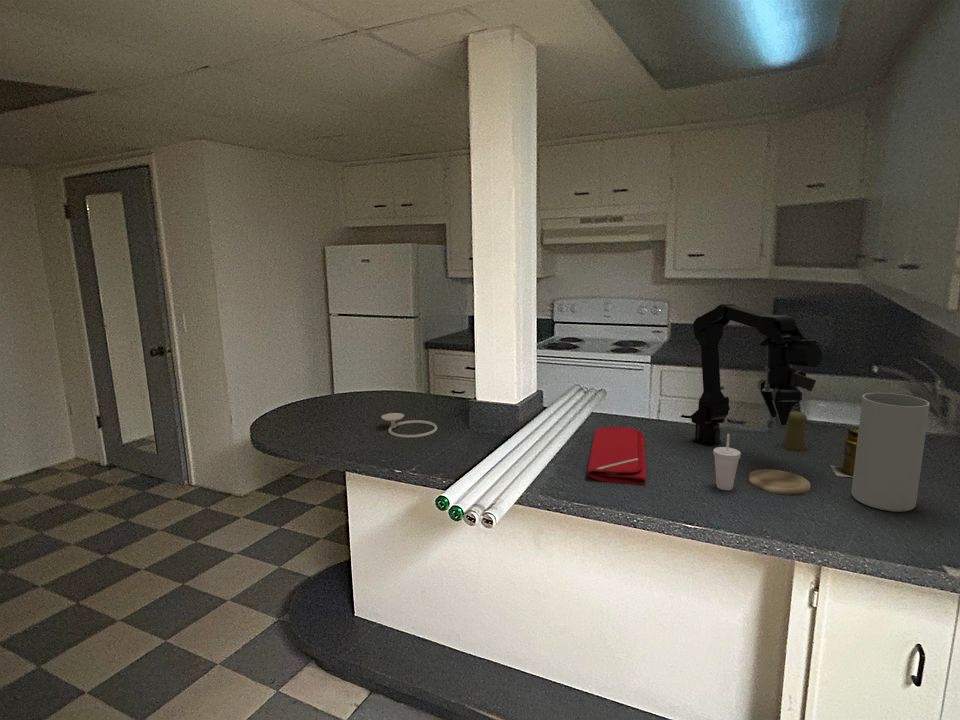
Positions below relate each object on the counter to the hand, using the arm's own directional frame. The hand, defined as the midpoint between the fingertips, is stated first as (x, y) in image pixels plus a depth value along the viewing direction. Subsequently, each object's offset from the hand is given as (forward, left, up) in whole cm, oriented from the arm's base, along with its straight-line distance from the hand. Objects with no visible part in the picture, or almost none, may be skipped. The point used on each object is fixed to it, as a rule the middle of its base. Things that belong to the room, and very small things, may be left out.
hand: (778, 420), depth 152 cm
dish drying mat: (-33, -25, -15) cm, 44 cm away
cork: (-5, +22, -14) cm, 26 cm away
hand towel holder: (-95, -63, -14) cm, 114 cm away
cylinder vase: (+26, +1, -14) cm, 29 cm away
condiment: (+14, +14, -14) cm, 24 cm away
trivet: (+6, -8, -14) cm, 17 cm away
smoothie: (-1, -21, -14) cm, 26 cm away
